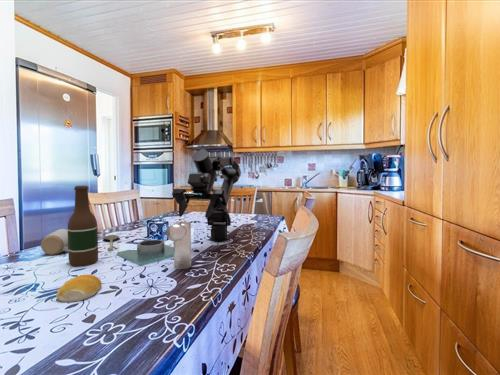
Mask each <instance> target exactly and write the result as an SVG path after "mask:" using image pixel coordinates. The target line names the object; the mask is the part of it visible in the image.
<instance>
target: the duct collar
mask: <svg viewBox="0 0 500 375" xmlns="http://www.w3.org/2000/svg"><path fill="white" fill-rule="evenodd" d="M136 246H137V247H136V248H137V250H130V249H126V250H121V251H117V252H116V255H117V256H118V257H120V258H123V259H124V260H127V261H129V262H131V263H133V264H136V265H138V266H145V265H149V264H151V263H155V262H159V261H163V260H167V259H169V258H171V259H172V258H174V246H171V245H167V244H165V240H163V239H148V240H141V241H140V242H137V245H136Z"/></svg>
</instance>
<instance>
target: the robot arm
mask: <svg viewBox="0 0 500 375" xmlns="http://www.w3.org/2000/svg"><path fill="white" fill-rule="evenodd" d="M191 158H192V161H193V164H194V165H195V168H196V171H197V172H198V173H189V175H188V178H187V185H189V186H191V187H190V190H191V191H192V192H187V189H186V188H174V189H173V191H172V193H171V195H172V196H173V198H174V199H175V202H176V203H177V204H178V216H179V217H182V216H183V215H184V213H185V211H187V208H188V206H189V202H190V200H198V201H209V204H208V206H207V209H206V211H205V215H204V217H205V218H206V222H207V226H211V227H210V237H209V238H208V240H209V241H213V242H217V243H220V242H224V241H228V240H230V239H231V238H230V237H228V227H230V226H231V225H232V220H231V216H230V214H229V210H228V208H227V207H228V204H229V203H228V202H229V199H230V197H231V194H232V190H233V187H234V184H236V183H237V182H239V179H240V177H241V175H242V171H241V166H240V165H239V163H237V162H236V161H235V160H234V157H232V156H218V155H217V156H214V155H213V156H211V155H209V152H208V151H207V148H200V150H197V151H196V152H195V153H193V154H192V155H191ZM217 172H220V173H221V175H222V178H223V180H222V184H221V186H220V189H217V188H215V189H214V184H215V182H217V181H218V177H217V176H218V173H217Z"/></svg>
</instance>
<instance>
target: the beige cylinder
mask: <svg viewBox="0 0 500 375" xmlns="http://www.w3.org/2000/svg"><path fill="white" fill-rule="evenodd" d="M40 243H41V244H40V249H41V250H42V251H43V253H44V254H47V255H51V256H54V255H59V254H61V253H63V252H67V253H68V228H67V229H66V228H58V229H57V230H55V231H53V232H50V234H47V235H46V236H45V237H44V238H43V239H42V240H41V242H40Z"/></svg>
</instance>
